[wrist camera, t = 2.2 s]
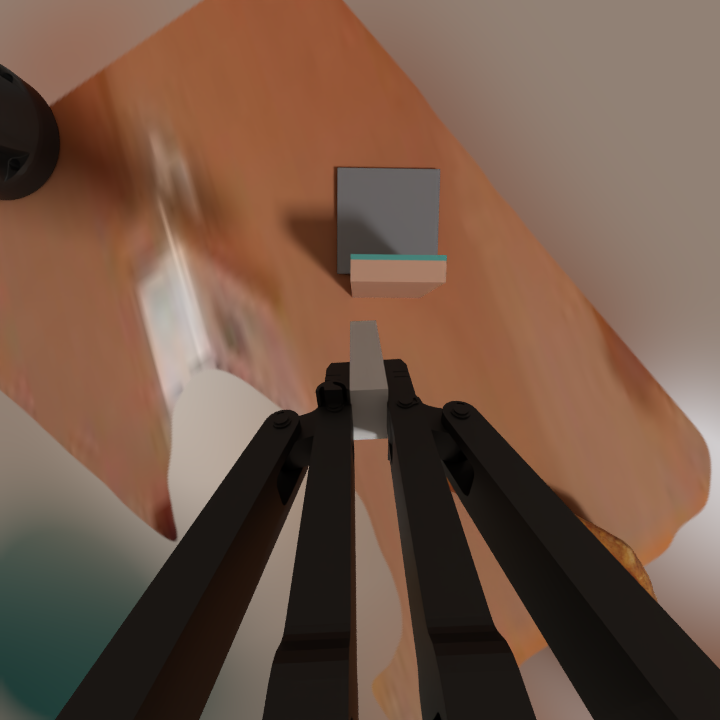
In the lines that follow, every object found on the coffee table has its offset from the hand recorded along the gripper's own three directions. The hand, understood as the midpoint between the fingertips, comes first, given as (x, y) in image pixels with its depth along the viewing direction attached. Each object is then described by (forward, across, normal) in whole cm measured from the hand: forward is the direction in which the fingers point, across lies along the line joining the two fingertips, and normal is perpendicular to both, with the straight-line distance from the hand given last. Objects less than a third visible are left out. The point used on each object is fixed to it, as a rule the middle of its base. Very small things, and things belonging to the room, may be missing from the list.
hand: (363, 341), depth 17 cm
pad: (+25, +4, +4) cm, 26 cm away
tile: (+22, +4, -4) cm, 22 cm away
